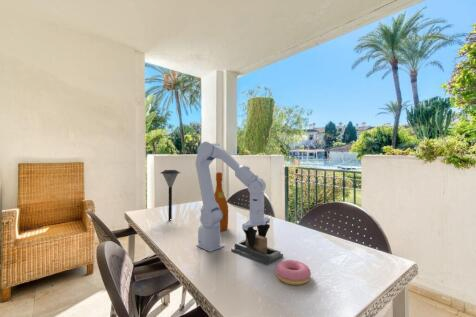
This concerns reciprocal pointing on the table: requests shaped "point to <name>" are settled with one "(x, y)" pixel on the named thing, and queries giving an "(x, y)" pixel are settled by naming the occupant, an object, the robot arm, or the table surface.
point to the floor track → (257, 253)
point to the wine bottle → (221, 202)
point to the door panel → (259, 243)
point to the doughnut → (293, 272)
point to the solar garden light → (170, 185)
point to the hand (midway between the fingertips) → (256, 244)
